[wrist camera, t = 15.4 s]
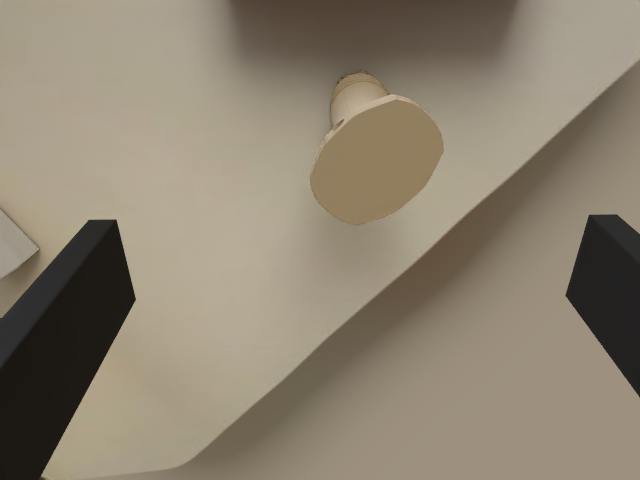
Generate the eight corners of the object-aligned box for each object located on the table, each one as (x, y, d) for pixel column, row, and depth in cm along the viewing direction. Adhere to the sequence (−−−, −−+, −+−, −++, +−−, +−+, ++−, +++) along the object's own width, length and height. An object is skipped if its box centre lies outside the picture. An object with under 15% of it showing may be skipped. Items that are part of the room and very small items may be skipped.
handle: (301, 100, 36) (289, 178, 23) (365, 33, 34) (393, 76, 21) (347, 145, 38) (360, 241, 25) (411, 83, 35) (463, 153, 22)
